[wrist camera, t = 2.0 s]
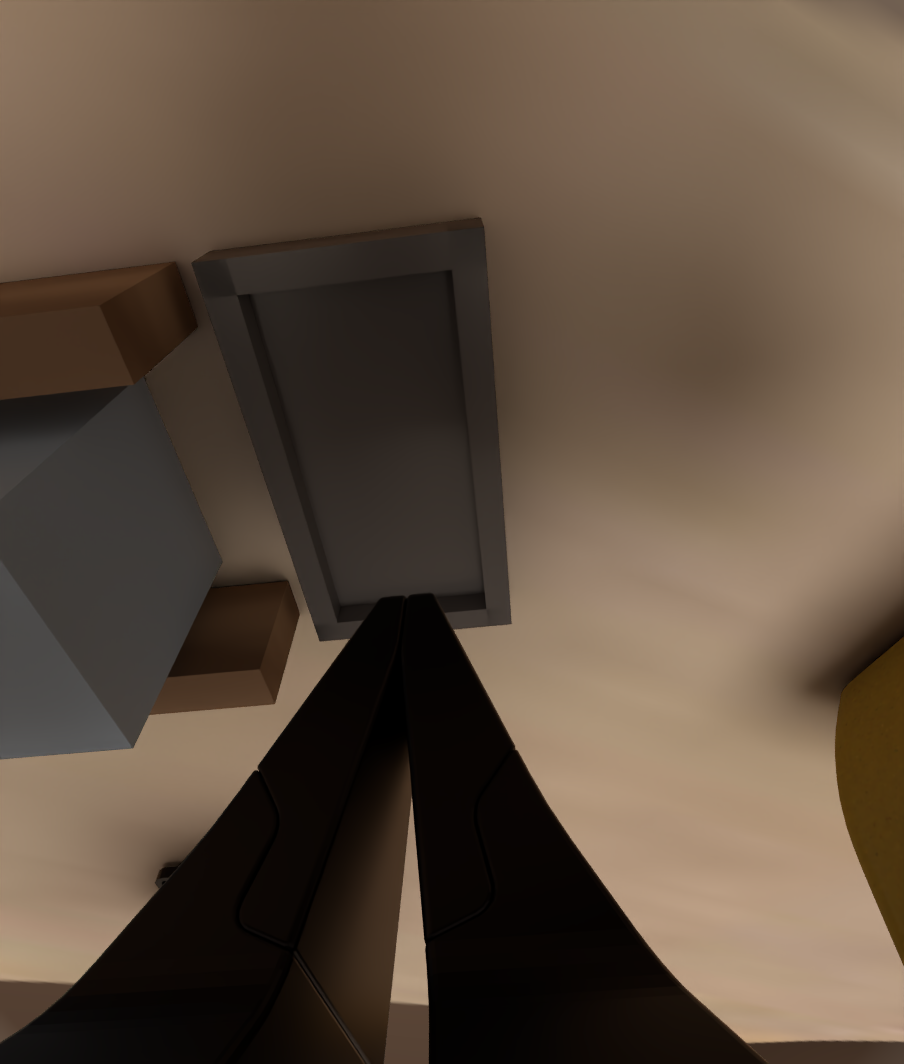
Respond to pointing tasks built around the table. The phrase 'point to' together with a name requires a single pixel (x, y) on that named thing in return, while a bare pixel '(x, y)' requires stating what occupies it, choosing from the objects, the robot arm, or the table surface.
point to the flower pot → (876, 780)
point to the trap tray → (372, 413)
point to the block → (92, 568)
